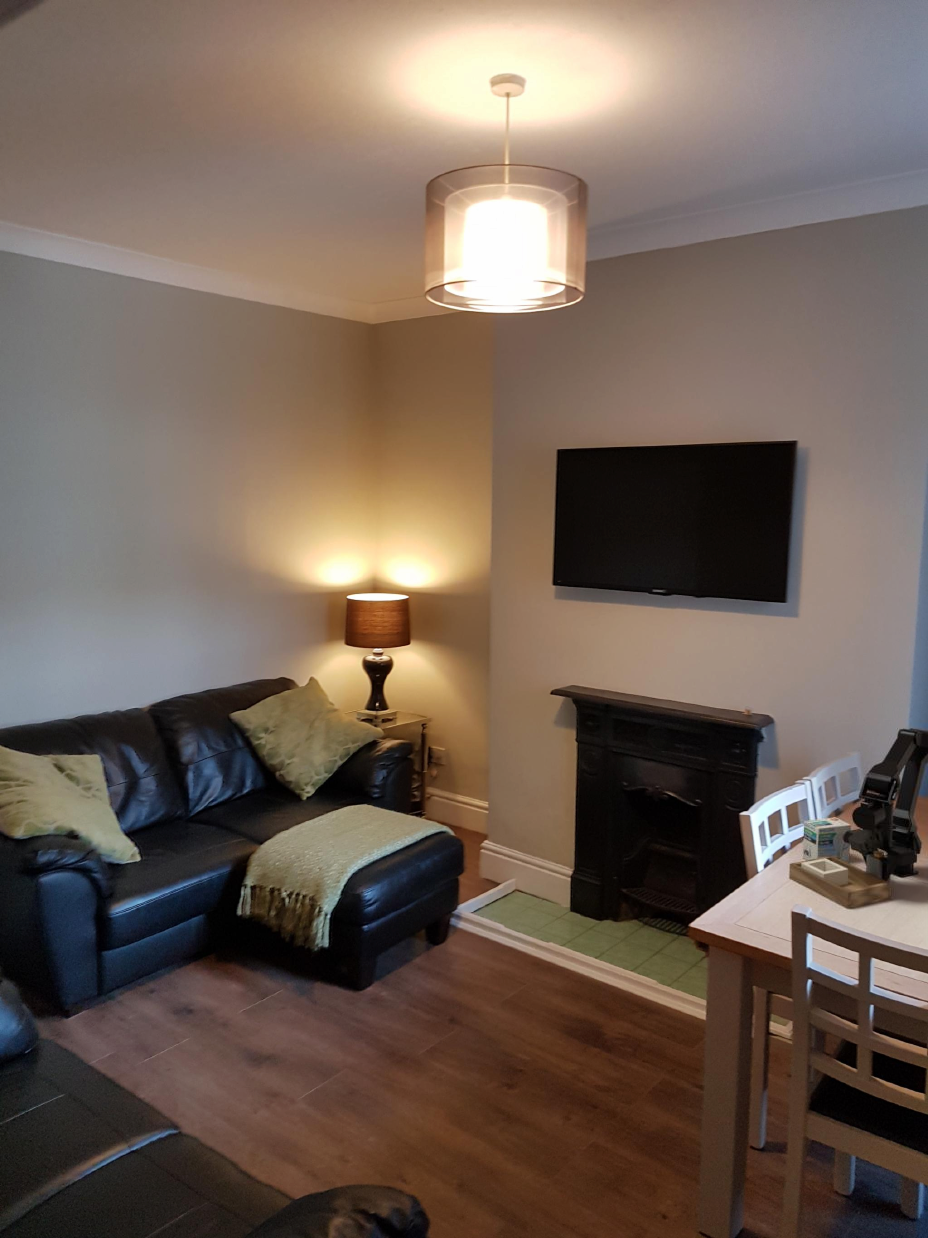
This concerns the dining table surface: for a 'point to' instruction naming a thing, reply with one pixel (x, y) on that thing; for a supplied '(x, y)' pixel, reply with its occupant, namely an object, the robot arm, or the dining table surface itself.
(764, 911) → the dining table surface
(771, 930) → the dining table surface
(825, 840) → the light bulb box
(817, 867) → the inlet socket
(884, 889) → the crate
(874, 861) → the block
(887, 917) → the dining table surface
